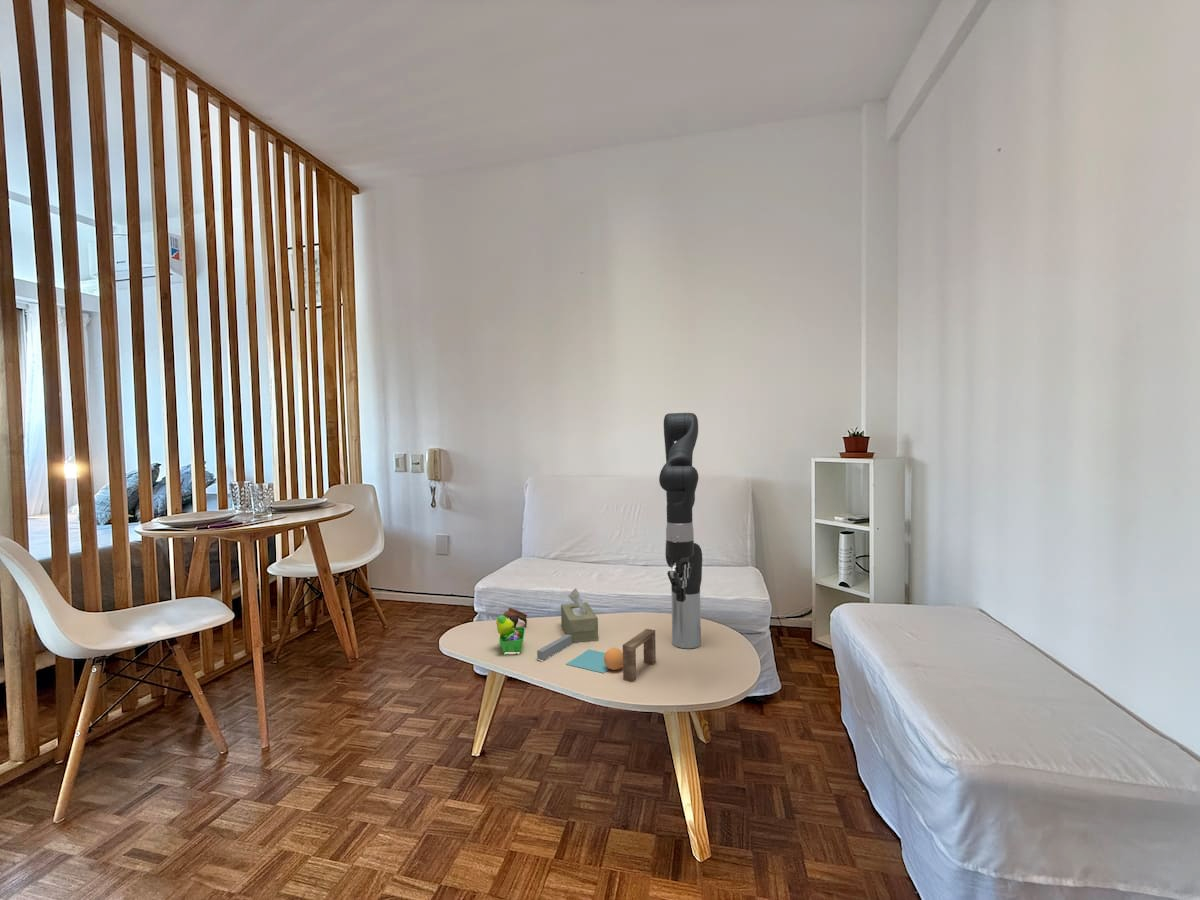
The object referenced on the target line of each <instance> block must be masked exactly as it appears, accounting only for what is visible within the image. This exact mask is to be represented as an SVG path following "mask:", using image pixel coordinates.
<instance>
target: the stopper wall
mask: <svg viewBox="0 0 1200 900" xmlns="http://www.w3.org/2000/svg"><path fill="white" fill-rule="evenodd" d="M571 644H572V635H568V634H566V635H565V634H564V635H562V636H561V637H559V638H558V639H555V640H553V641H551V642H549V643H548V644H547V645H545V646H543V647H541V648H539V649H538V650H536V657H537V658H536V659H540V660H544V659H546V658H548V657H549V656H551V655H553V654H555V653H556V654H558V653H560V652H561V651H563V650H565V649H566V647H567V646H568V647H570V646H572V645H573V644H572V645H571ZM569 645H570V646H569ZM568 647H567V648H568ZM564 648H565V649H564ZM562 649H563V650H562ZM560 650H561V651H560ZM559 651H560V652H559ZM557 652H558V653H557ZM556 654H555V655H556ZM553 656H554V655H553ZM551 657H552V656H551ZM548 659H549V658H548ZM546 660H547V659H546Z"/></svg>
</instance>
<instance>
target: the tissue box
mask: <svg viewBox="0 0 1200 900" xmlns="http://www.w3.org/2000/svg"><path fill="white" fill-rule="evenodd" d="M567 597H568V598H569V599H570V601H572V602H573V603H565V604H561V605H560V610H561V611H560V614H561V615H560V616H561V617H560V618H561V621H560V623H561V625H560V626H561V628H562V631H563V630H564V631H563V632H565V633H564V635H566V634H568V635H572V643H573V644H580V643H579V642H583V643H590V642H591V641H593V642H599V619H598V616H597V615H596V613H595V611H594V610H593V609H592V607H591V606H590V604H589V603H588V602H585V601H583V599H582V597H581V594H580V592H579V591H578V589H577V588H573V590H572V591H571V592H570V593H569V594H568V595H567Z"/></svg>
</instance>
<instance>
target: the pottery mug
mask: <svg viewBox="0 0 1200 900" xmlns="http://www.w3.org/2000/svg"><path fill="white" fill-rule="evenodd" d="M502 615H503V616H505V617H506V618H508V619H510V620H511V621H512V622H513V623H514V627H513V628H517V625H518V622H519V620H520V621H522V622H524V628H526V627H527V625H528V620H527V617H528V615H527V613H525V612H522V611H519V610H517V609H515V608H512V607H508V610H506V611H505V612H504V613H503V614H502Z"/></svg>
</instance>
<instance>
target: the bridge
mask: <svg viewBox="0 0 1200 900" xmlns="http://www.w3.org/2000/svg"><path fill="white" fill-rule="evenodd" d="M641 645H642V646H643V663H644V664H647V665H652V666H654V665H655V664H656V663H657V661H656V660H657V658H656V657H657V656H656V649H657V648H656V645H657V644H656V630H655V629H652V628H650V629H649V628H645V629H644V630H643V631H641V632H638V634H637V635H635V636H634V637H632V638H631V639H629V640H628V641H626V642H625V643H624V644H622V653H623V666H622V667H623V668H622V677H623V679H622V681H627V682H631V683H633V682H635V681H636V680H637V660H636V659H637V657H636V655H637V653H636V652H637V651H636V649H638V648H639V647H640V646H641Z"/></svg>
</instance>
